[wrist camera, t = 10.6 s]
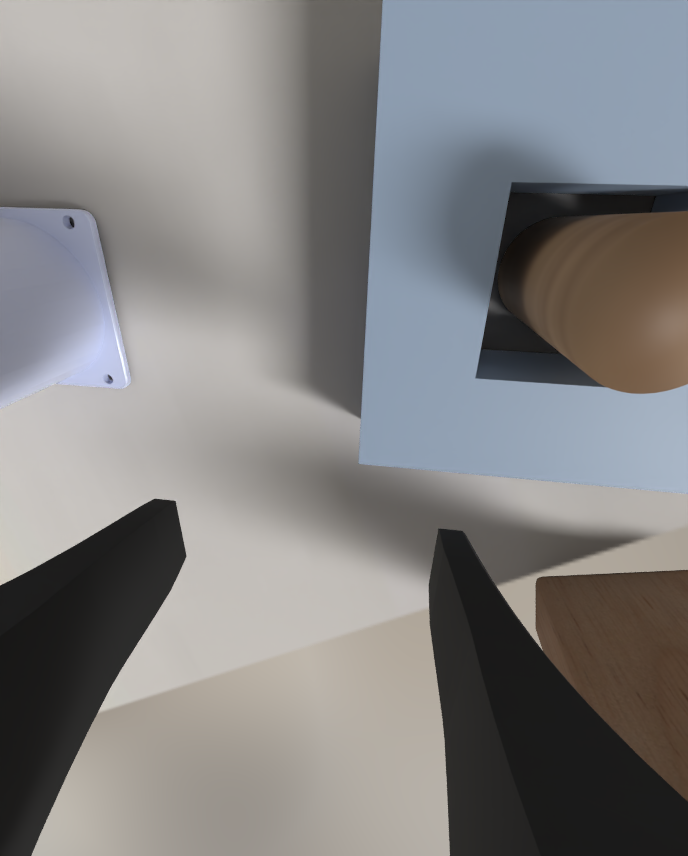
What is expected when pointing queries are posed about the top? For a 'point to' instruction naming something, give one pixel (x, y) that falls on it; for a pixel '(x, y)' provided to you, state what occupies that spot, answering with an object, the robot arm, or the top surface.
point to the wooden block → (625, 656)
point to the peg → (606, 295)
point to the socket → (484, 219)
